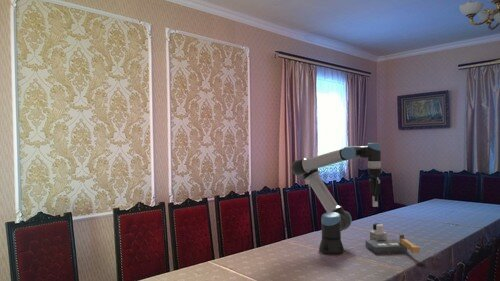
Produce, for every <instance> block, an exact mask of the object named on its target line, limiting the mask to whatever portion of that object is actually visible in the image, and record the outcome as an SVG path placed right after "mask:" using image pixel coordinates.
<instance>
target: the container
mask: <svg viewBox="0 0 500 281" xmlns="http://www.w3.org/2000/svg"><path fill="white" fill-rule="evenodd" d="M369 240H388V232H386V231H384V224H382V223H377V222H375V223H373V224H372V230H370V231H369Z"/></svg>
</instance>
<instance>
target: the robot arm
mask: <svg viewBox="0 0 500 281" xmlns="http://www.w3.org/2000/svg"><path fill="white" fill-rule="evenodd" d="M381 147H382V146H381V143H380V142H368V143H367V145H361V146H360V145H358V146H357V145H351V146H350V145H349V146H345V147H342V148H339V149H337V150H333V151H330V152H327V153H323V154H320V155H315V156H314V157H310V158H308V157H307V158H306V157H304V158H299V159H295V160H294V161H293V162H292V164H291V168H290V169H291V171H292V174H293V175H295V176H297V177H302V178H303V180H304V181H305V182H308V184H309V185H310V187H311V188H312V190H313V192H314V193H315V194H316V197H317V198H318V200H319V202H320V203H321V205H322V206H323V208H324V209H325V211H326V212H324V213H323V214H321V218H320V219H321V220H320V221H321V222H320V223H321V239H320V243H319V245H318V251H319V253H321V254H323V255H329V256H338V255H339V256H340V255H343V254H344V253H345V248H344V245H343V242H342V231H345V230H348V228H350V226H351V225H352V222H353V221H352V216H351V214H350V213H349V211H346V210H344V208H343V206H342V205H338V203H337V201H336V200H335V199H334V197H333V195H332V194H331V192H330V191H329V189H328V187H327V186H326V184H325V182H324V181H323V179H322V178H321V177H320V171H319V169H320V168H323V167H327V166H331V165H334V164H338V163H342V162H344V161H345V162H346V161H349V160H353V159H367V168H368V169H367V172H368V175H370V177H369V178H368V182H369V183H368V184H369V191H370V195H372V198H371V199H372V207H374V208H375V207H377V208H379V196H381V195H380V194H381V185H382V180H381V179H380V175H382V159H381V158H382V149H381Z"/></svg>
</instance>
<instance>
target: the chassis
mask: <svg viewBox="0 0 500 281" xmlns="http://www.w3.org/2000/svg"><path fill="white" fill-rule="evenodd" d="M365 247H366V249H368V250H370V251H371V252H372V253H373V254H377V255H378V254H379V255H381V254H403V253H404V254H405V253H408V248H406V247H405V246H403V245H402V244H400V240H397V239H394V238H393V239H392V238H391V239H387V240H370V239H368V240H365Z"/></svg>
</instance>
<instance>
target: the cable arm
mask: <svg viewBox="0 0 500 281" xmlns="http://www.w3.org/2000/svg"><path fill="white" fill-rule="evenodd" d="M399 242H400V244H402V245H403V246H405V247H406V248H407V250H409V251H410V252H411V254H420V250H421V249H420V248H421V247H420V246H419V245H415V244H414V243H412V242H410V241H409V240H408V239H406V238H405V235H404V234H402V233H400V234H399Z"/></svg>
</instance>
